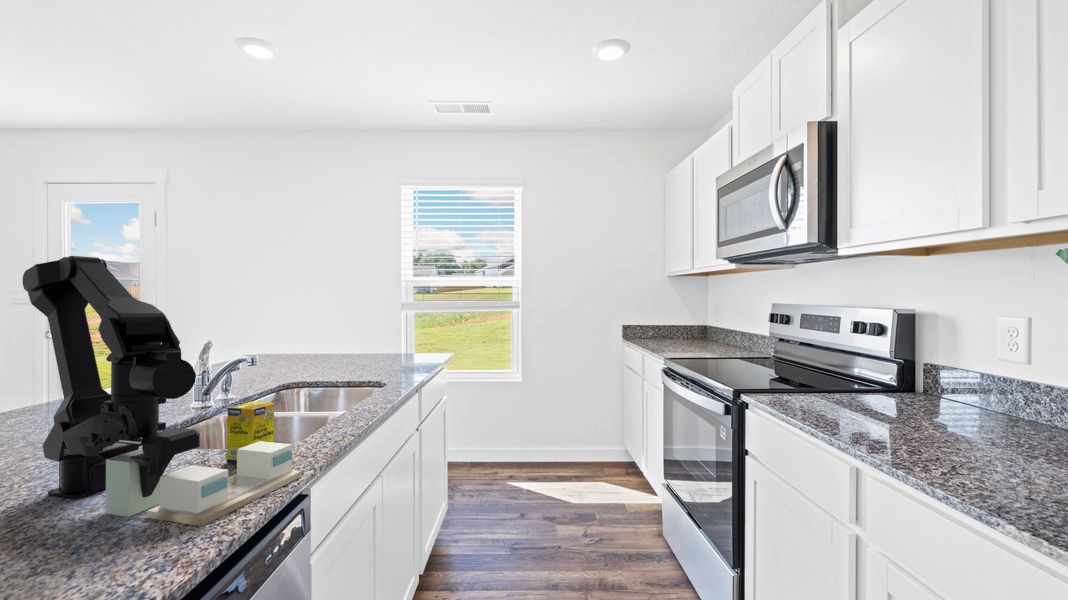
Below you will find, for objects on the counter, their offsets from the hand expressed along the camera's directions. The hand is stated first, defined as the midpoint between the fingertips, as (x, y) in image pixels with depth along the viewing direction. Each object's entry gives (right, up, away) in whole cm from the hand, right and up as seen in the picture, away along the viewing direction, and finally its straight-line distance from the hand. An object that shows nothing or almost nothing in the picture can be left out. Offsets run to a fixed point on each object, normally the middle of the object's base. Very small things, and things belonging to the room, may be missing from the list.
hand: (134, 494), depth 75 cm
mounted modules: (+12, -1, +5) cm, 13 cm away
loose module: (0, -2, 0) cm, 2 cm away
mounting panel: (+12, -2, +5) cm, 13 cm away
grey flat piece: (+12, -2, +5) cm, 13 cm away
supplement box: (+5, -2, +22) cm, 23 cm away
